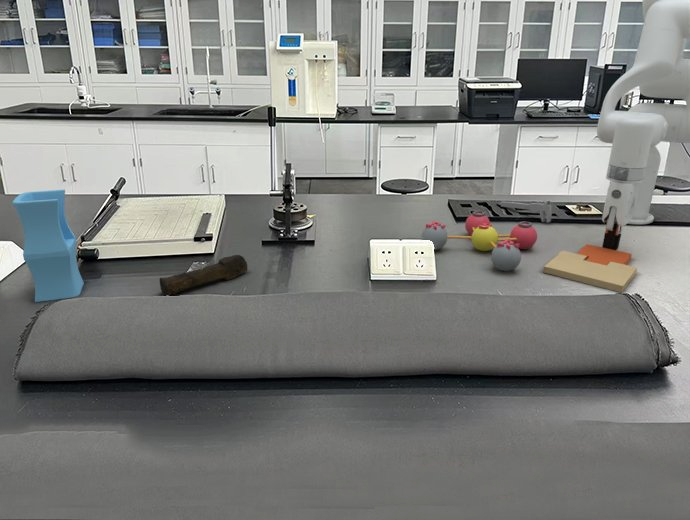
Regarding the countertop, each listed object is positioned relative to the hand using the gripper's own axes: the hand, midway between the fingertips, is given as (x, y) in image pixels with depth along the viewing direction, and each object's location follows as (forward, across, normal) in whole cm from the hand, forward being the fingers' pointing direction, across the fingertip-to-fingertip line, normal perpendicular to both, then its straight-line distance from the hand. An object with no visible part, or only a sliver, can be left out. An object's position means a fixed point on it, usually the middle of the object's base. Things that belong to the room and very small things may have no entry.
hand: (609, 248), depth 127 cm
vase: (+1, -93, +81) cm, 123 cm away
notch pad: (+1, -16, 0) cm, 16 cm away
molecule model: (+1, -18, +24) cm, 30 cm away
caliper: (+1, +16, +28) cm, 32 cm away
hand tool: (+1, -72, +61) cm, 94 cm away
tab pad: (+1, -7, 0) cm, 7 cm away
